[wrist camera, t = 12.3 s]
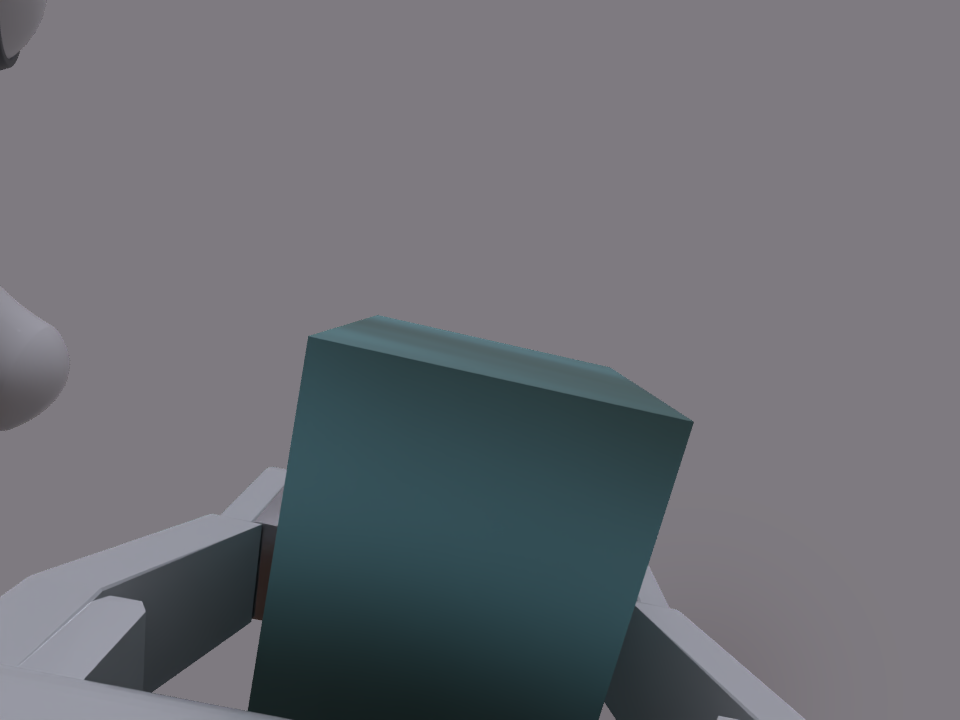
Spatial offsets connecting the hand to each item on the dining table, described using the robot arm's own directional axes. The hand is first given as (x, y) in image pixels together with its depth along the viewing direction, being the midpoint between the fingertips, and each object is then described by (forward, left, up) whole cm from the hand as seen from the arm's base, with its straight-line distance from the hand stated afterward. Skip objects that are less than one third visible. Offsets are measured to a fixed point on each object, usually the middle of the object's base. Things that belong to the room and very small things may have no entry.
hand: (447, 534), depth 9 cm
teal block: (-1, +1, -11) cm, 11 cm away
